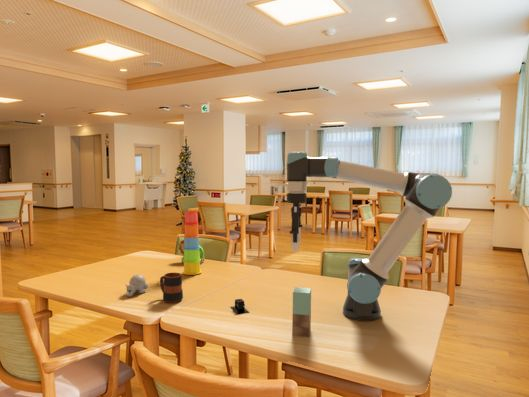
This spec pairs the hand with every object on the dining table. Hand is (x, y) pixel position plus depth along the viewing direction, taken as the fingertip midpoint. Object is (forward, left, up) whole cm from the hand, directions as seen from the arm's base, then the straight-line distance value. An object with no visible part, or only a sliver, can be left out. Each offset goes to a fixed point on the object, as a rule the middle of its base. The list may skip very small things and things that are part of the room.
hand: (296, 247), depth 154 cm
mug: (+58, -11, -30) cm, 66 cm away
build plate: (+24, -6, -30) cm, 39 cm away
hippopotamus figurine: (+77, -15, -30) cm, 84 cm away
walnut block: (-4, +11, -29) cm, 31 cm away
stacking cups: (+65, -54, -30) cm, 90 cm away
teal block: (-4, +11, -21) cm, 24 cm away
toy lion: (+75, -77, -30) cm, 112 cm away
